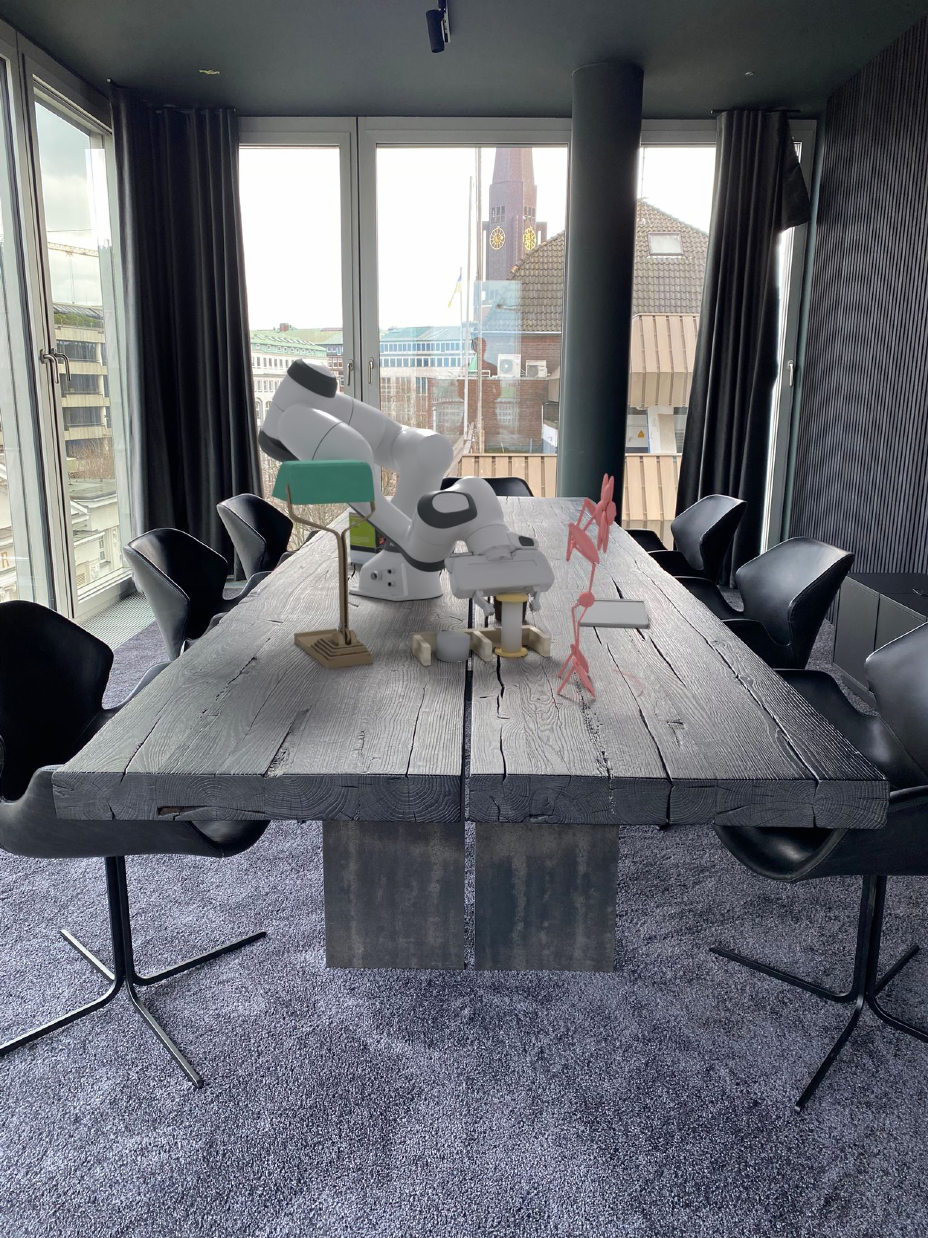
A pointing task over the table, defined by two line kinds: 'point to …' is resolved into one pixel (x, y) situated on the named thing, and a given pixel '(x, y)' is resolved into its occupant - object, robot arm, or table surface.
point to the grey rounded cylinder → (452, 646)
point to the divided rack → (479, 642)
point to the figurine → (587, 548)
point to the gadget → (614, 613)
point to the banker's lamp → (330, 487)
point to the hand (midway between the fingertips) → (513, 612)
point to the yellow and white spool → (511, 624)
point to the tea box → (363, 540)
